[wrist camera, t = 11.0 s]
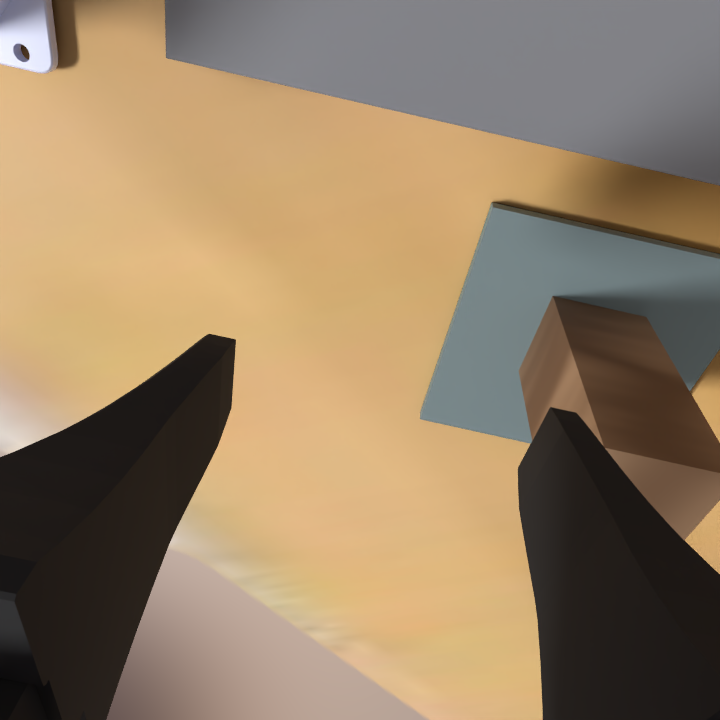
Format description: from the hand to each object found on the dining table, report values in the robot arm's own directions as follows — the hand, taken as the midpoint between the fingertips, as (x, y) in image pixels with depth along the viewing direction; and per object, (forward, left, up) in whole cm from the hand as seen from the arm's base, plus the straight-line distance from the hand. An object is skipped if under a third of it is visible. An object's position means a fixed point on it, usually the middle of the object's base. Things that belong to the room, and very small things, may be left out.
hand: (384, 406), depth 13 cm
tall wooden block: (+8, -3, -9) cm, 12 cm away
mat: (+8, -3, -10) cm, 13 cm away
